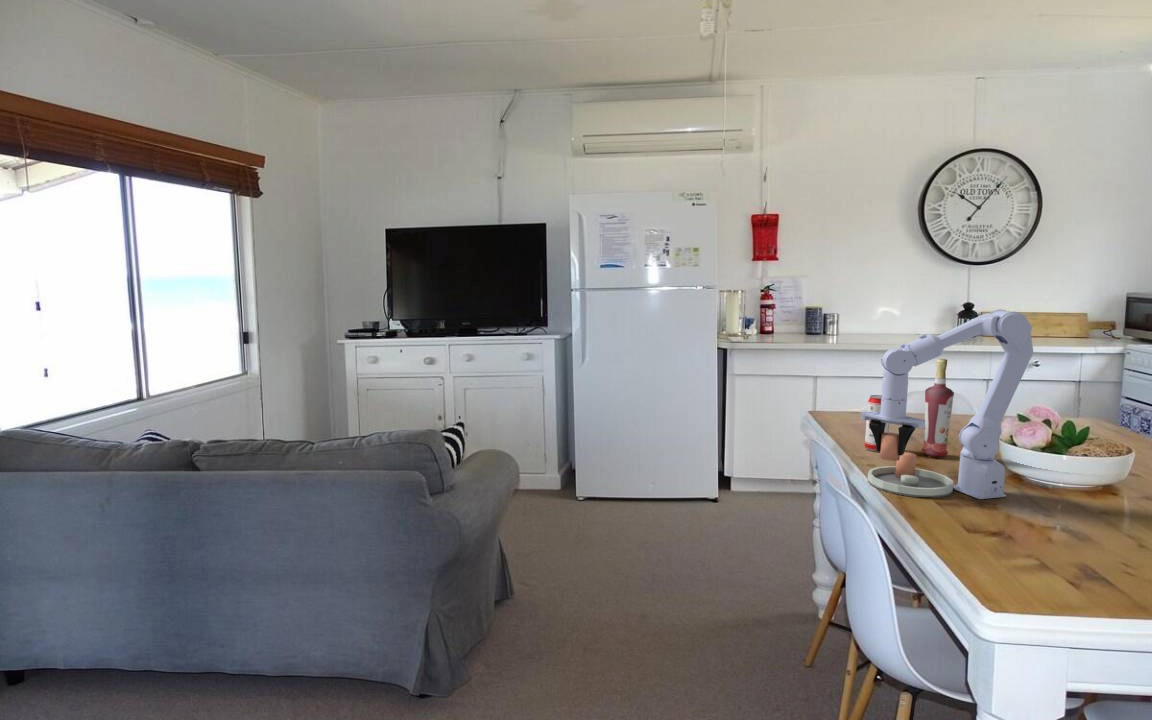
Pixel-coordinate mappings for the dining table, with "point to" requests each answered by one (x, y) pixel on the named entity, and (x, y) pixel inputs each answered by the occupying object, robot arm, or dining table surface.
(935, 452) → the liquor
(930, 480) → the groove tray
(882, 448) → the reddish brown rounded cylinder
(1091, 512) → the dining table surface
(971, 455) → the robot arm
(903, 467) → the salmon rounded capsule
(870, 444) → the beer can
